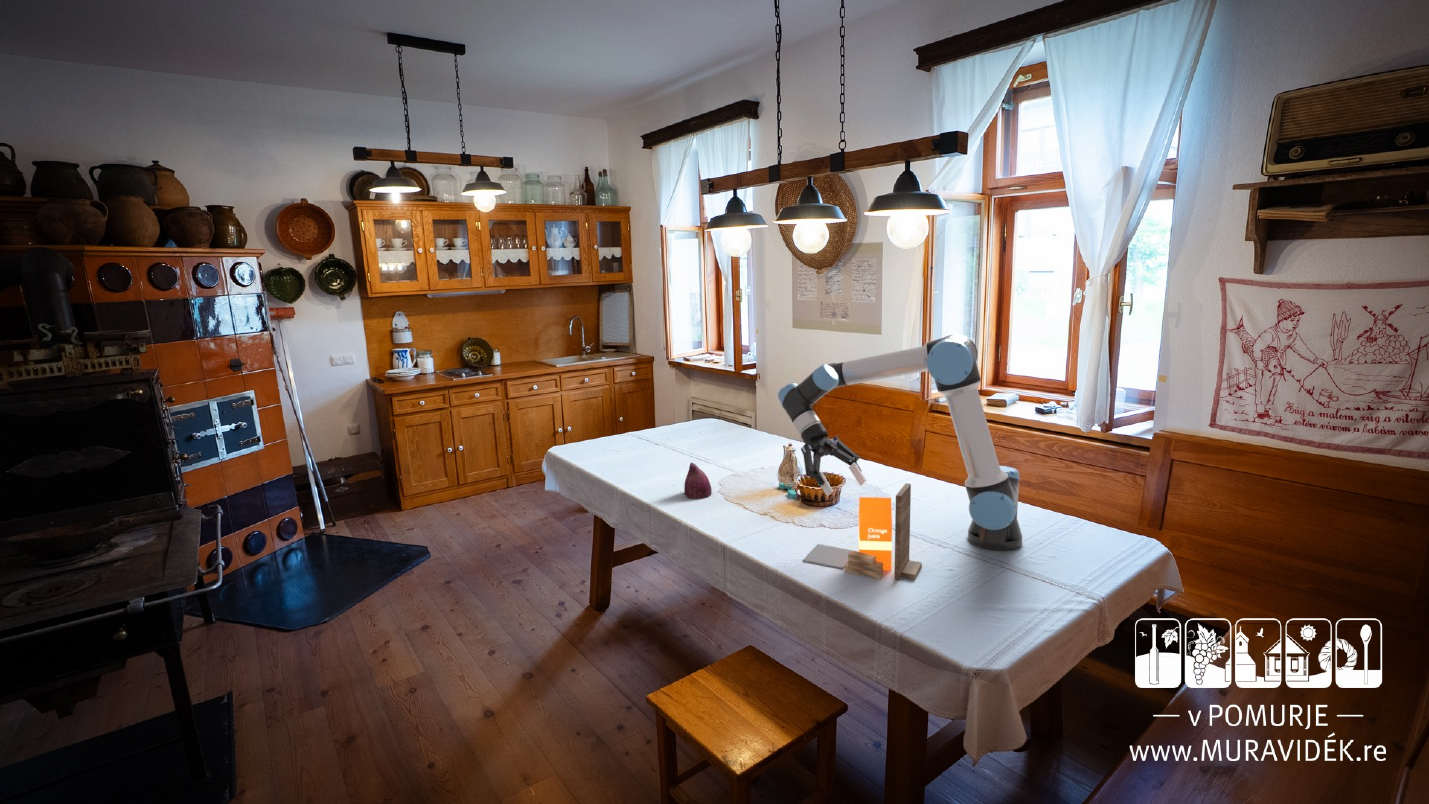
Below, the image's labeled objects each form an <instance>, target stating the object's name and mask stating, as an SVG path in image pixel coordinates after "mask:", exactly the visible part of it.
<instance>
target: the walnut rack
mask: <svg viewBox="0 0 1429 804" xmlns="http://www.w3.org/2000/svg"><path fill="white" fill-rule="evenodd" d="M911 488H912V484H911V483H908V482H905V484H904V485H903V486H902V487H901V488H900V490H899V491H898V492H897V493H896V494H895V516H894V517H895V522H894V523H895V524H894V578H893V579H894V580H895V581H901V579H902V578H903V579H907V580H908V579H909V580H914V581H915V580H916V578H917V577H918V576H919V573H920V572H921V570H922V567H923V563H922V562H920V561H915V560H910V548H911V547H910V542H911V538H910V537H911V535H910V534H911V500H912V499H911V495H912V493H911V491H912V489H911ZM851 550H852V549H851ZM843 570H844V573H847V574H850V575H851V574H852V575H858V576H862V577H866V578H867V577H868V578H871V579H876V580H881V579H882V577H883V576H884V570H883V562H878V561H876V556H875V555H871V554H866V553H862V552H859V551H857V550H852V551H851V552H850V553H849V554H848V562H847V564H846V565H845V566H844V568H843Z"/></svg>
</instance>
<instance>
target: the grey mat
mask: <svg viewBox="0 0 1429 804" xmlns="http://www.w3.org/2000/svg"><path fill="white" fill-rule="evenodd" d="M851 551H852V549H847V548H842V547H836V546H831V545H826V544H825V545H824V544H819V543H818V544H816V545H815V546H814V547H813V549H811V551H810V552H809V553H807V555H806V556H805V557H804V558H803V559H802V561H803V562H804V563H810V564H814V565H818V566H820V565H821V566H824V567H829V568H830V567H831V568H834V569H838V570H839V569H840V570H844V566H845V565H846V564H847V562H848V554H849V553H850V552H851Z"/></svg>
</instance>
